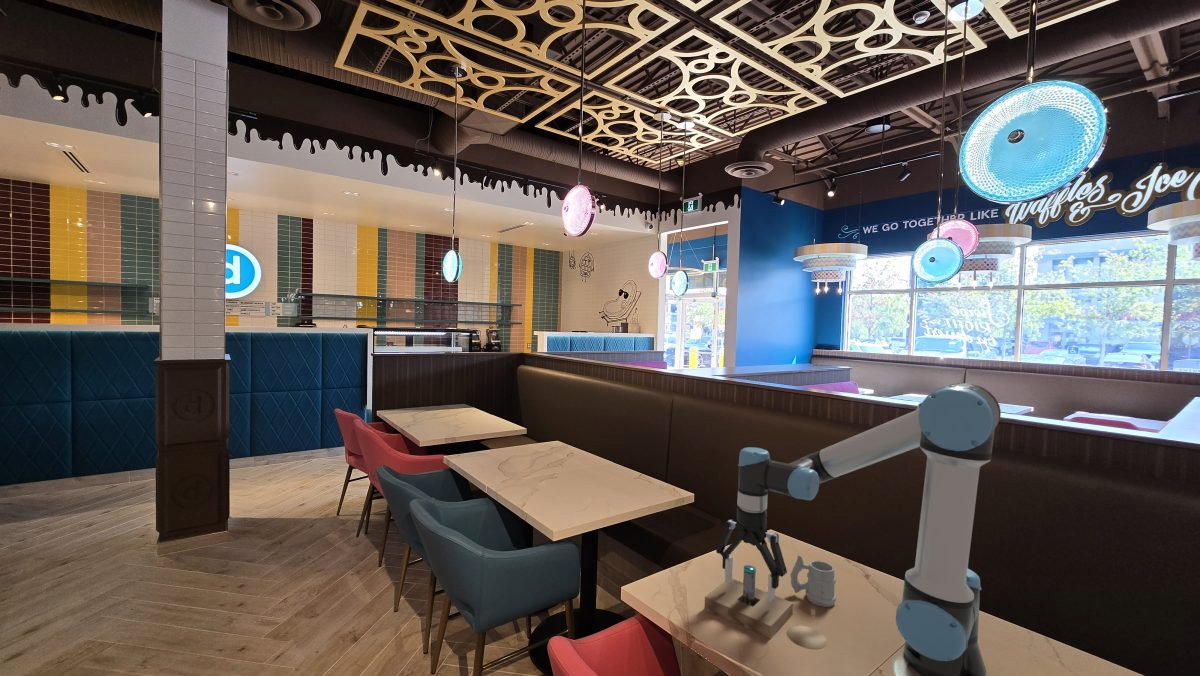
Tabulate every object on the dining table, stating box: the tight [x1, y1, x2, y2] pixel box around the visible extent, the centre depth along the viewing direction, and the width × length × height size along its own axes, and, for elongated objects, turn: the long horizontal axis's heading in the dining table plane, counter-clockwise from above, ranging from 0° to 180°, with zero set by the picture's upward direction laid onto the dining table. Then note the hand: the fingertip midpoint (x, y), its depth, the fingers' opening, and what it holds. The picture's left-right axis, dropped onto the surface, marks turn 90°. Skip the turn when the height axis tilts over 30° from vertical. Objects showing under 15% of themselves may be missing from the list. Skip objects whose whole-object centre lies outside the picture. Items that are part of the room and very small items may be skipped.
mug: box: [790, 553, 837, 608], centre depth 136 cm, size 8×12×12 cm, turn 73°
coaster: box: [786, 625, 828, 650], centre depth 119 cm, size 9×9×1 cm
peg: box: [742, 564, 757, 607], centre depth 129 cm, size 3×3×12 cm
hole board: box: [704, 578, 794, 640], centre depth 129 cm, size 18×14×4 cm
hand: (749, 590), depth 129 cm, fingers open, 11 cm apart
